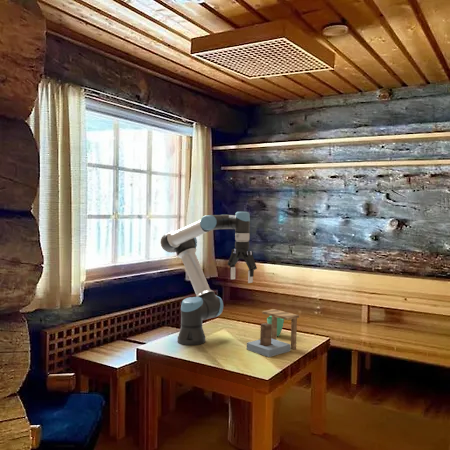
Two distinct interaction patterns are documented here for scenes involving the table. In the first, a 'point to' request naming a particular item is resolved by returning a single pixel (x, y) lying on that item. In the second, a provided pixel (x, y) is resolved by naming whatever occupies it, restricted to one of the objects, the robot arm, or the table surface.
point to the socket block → (269, 347)
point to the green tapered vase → (279, 324)
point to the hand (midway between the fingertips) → (241, 281)
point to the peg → (265, 334)
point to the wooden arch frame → (286, 316)
